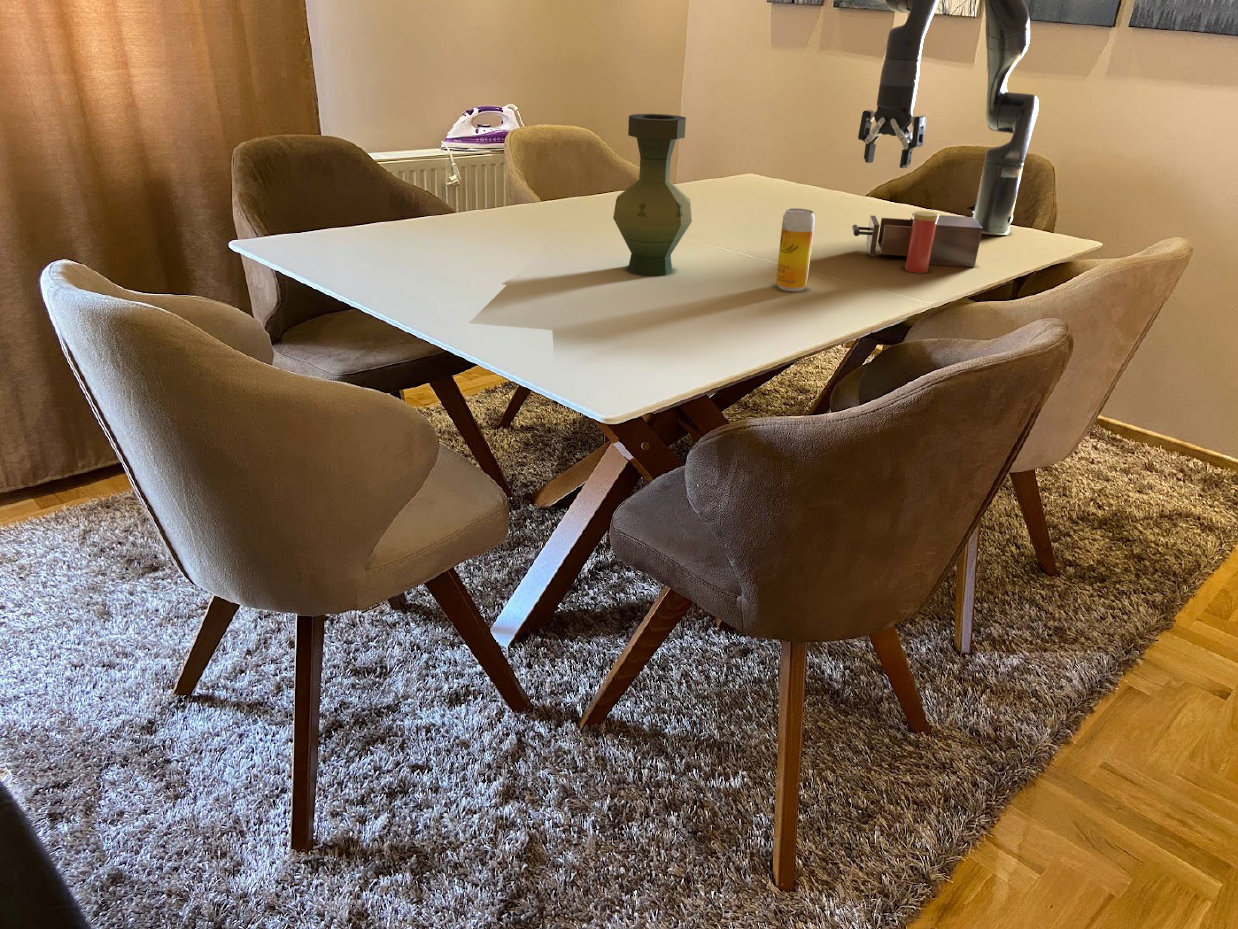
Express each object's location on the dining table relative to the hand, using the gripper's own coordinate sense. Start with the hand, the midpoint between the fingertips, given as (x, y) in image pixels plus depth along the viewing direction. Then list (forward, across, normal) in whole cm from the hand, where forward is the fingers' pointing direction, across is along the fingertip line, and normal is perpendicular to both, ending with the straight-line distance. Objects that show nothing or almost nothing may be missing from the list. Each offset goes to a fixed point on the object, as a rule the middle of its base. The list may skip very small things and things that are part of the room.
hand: (885, 164), depth 197 cm
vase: (+21, +23, +46) cm, 56 cm away
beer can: (+21, -3, +33) cm, 39 cm away
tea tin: (+20, -11, -1) cm, 23 cm away
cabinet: (+20, -8, -14) cm, 26 cm away
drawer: (+20, +1, -7) cm, 21 cm away
